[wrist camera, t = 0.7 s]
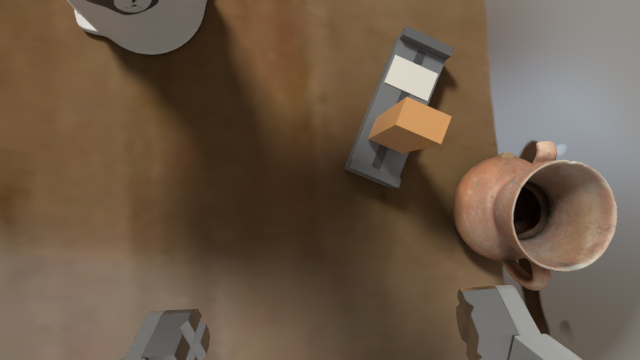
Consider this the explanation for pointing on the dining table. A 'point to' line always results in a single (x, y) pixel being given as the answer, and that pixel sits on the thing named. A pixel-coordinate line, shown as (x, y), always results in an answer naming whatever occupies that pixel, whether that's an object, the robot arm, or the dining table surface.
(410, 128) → the switch tab
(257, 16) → the dining table surface
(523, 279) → the ceramic jug
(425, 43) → the switch track
